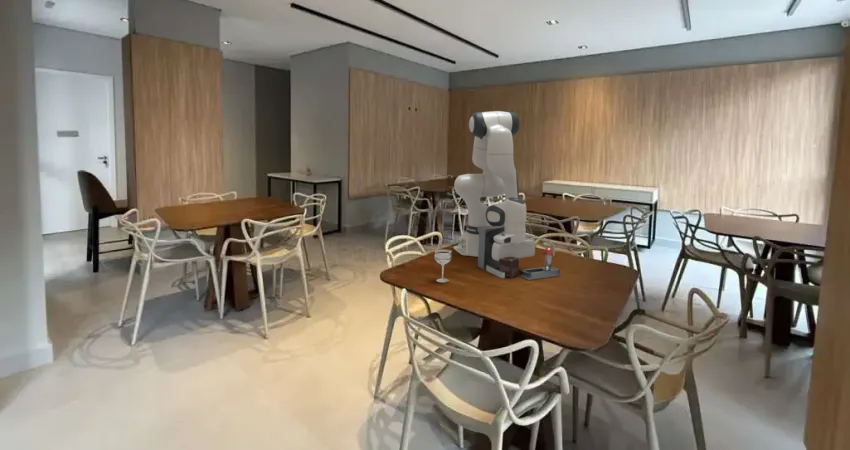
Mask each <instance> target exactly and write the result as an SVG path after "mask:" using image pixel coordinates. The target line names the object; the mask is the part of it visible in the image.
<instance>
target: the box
mask: <svg viewBox="0 0 850 450" xmlns="http://www.w3.org/2000/svg"><path fill="white" fill-rule="evenodd" d="M519 264H520V259H519V258H516V257H506V258H501V259H499V268H498V270H501V271H503V272H505V278H506V277H507V278H510V279H511V278H514V277H516V276H518V275H519V267H520V266H519Z"/></svg>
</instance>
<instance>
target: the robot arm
mask: <svg viewBox="0 0 850 450" xmlns="http://www.w3.org/2000/svg"><path fill="white" fill-rule="evenodd" d="M520 126H521V123H520V117H519V115H518V114H517V113H515V112H512V111H501V110H494V111H483V112H481V111H478V112H473V113H472V114H471V116H470V118H469V122H468V127H469V132H470V133H471V135H473V137H474V140H473V148H472V158H471V160H472V163H473V165H474V166H476V167H477V168H478V169H481V170H482V172H483V173H465V174H460V175H458V176H457V177H456V179H455V180H454V184H453V185H454V187H453V189H454V190H455V192H456V194H457V195H458V196H459V197H460V198H461V199H462V200H463V201H464V202H465V205H466V207H467V214H468V215H467V216H468V217H467V219H468V224H465V228H466V229H465V232H464V233H463V234H461V236H459V237H458V240H457V243H458V244H457V245H455V246H452V247H453V250H455V251H456V252H457V253H458V254H460V255H462V256H468V257H469V256H470V257H477V258H478V246H479V232H478V231H477V230H478V227H481V226H503V227H504V232H502V233H500V234H498V235H496V236H494V241H496V242H494V243H493V246H492V258H493V259H494V260H497V261H499V259H501V258H506V257H516V258H519V260H520V259H523V258H529V257H530V258H531V257H534V256H535V255H536V245H535V236H533V235H531V234H528V235H526V232H527V231H526V229H527V228H526V223H527V203H526V202H525V200H524V199H522V198H520V191H519V179H518V177H519V176H518V172H517V169H516V167H515V163H514V142H513V141H514V139H513V136H515V135H517V134H518V132H519V131H520V130H519V129H520ZM499 196H504V201H501V202H499V203H498V202H497V203H495V204H491V205H489V206H488V205H486V204H485V203H482V202H481V198H490V197H491V198H494V197H499Z"/></svg>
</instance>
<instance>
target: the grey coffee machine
mask: <svg viewBox="0 0 850 450" xmlns="http://www.w3.org/2000/svg"><path fill="white" fill-rule="evenodd" d="M477 231H478V232H479V246H478V257H477V267H478V268H479V269H481V270H485V271H486V272H487V273H490V274H493V275H494V276H496V277H499V278H501V279H505V278H506V277H505V272H503V271H501V270H499V261H497V260H494V259H493V258H492V246H493V243H494V242H496V241H494V236H496V235H498V234H500V233H502V232H504V226H481V227H478V230H477Z"/></svg>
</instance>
